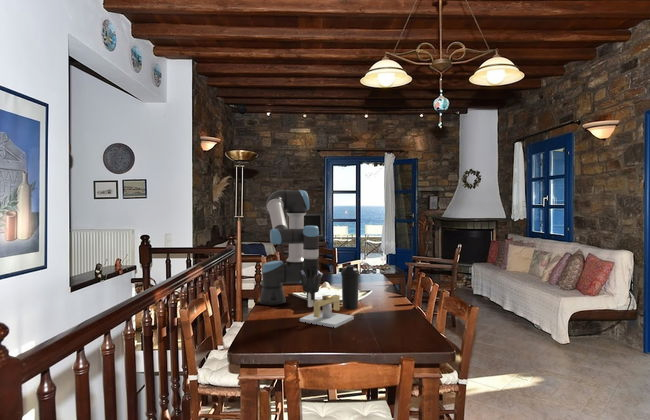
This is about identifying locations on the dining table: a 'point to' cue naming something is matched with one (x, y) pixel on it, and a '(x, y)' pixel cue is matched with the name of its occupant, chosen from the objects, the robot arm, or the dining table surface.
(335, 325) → the base
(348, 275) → the water bottle
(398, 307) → the dining table surface
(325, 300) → the yellow u-shaped block
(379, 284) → the dining table surface
